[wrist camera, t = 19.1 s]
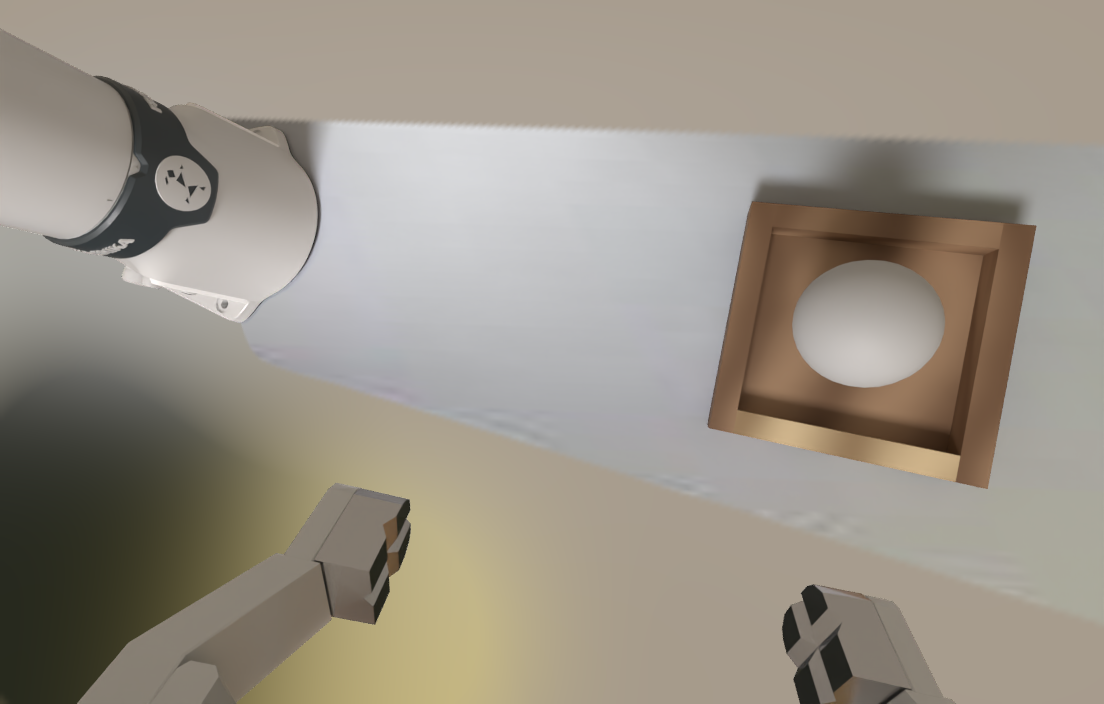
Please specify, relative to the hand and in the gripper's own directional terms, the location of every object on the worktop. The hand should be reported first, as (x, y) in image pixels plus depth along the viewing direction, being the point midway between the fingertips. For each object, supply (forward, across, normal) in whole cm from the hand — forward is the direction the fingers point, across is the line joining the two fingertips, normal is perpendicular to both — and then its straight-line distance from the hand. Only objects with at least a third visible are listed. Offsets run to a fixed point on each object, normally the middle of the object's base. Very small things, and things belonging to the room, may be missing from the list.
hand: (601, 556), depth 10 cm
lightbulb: (+23, -14, +5) cm, 27 cm away
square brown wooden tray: (+23, -16, +5) cm, 29 cm away
